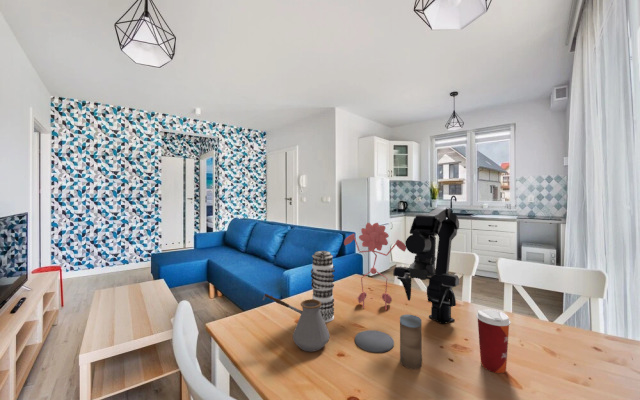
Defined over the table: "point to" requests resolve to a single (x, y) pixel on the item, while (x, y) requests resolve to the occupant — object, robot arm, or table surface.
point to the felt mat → (374, 341)
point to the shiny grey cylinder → (411, 341)
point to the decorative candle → (323, 283)
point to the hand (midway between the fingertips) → (423, 303)
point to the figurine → (374, 240)
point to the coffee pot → (308, 325)
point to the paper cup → (493, 339)
